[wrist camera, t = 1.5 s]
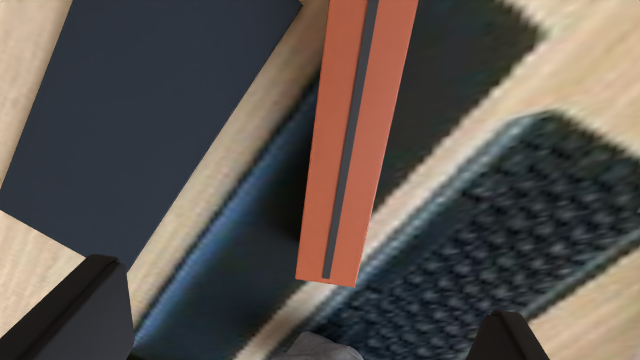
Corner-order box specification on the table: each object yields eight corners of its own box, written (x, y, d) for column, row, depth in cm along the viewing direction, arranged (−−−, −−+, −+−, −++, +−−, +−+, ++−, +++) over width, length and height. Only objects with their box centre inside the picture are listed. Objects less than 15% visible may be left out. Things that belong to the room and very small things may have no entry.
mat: (133, -138, 18) (127, -143, 18) (303, 4, 21) (302, 4, 20) (0, 202, 28) (-7, 206, 27) (126, 273, 30) (122, 278, 30)
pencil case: (335, -31, 20) (334, -42, 16) (409, -20, 20) (425, -29, 16) (301, 245, 28) (294, 280, 24) (353, 252, 28) (355, 288, 24)
